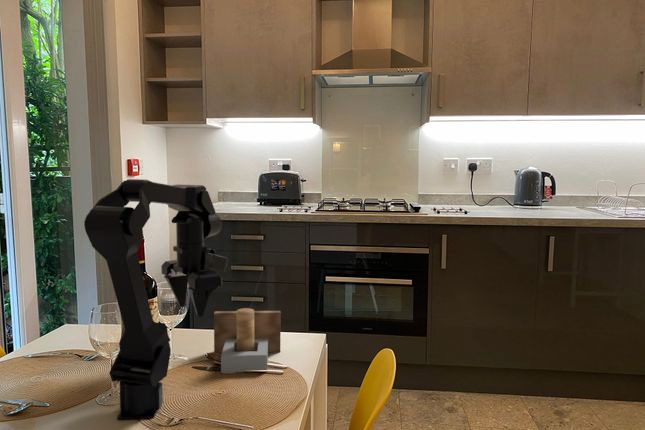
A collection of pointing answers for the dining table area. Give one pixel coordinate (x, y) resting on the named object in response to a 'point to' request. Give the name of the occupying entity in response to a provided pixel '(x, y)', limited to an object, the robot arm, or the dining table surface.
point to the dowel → (245, 330)
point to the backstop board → (264, 327)
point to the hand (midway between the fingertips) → (190, 311)
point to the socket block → (244, 357)
